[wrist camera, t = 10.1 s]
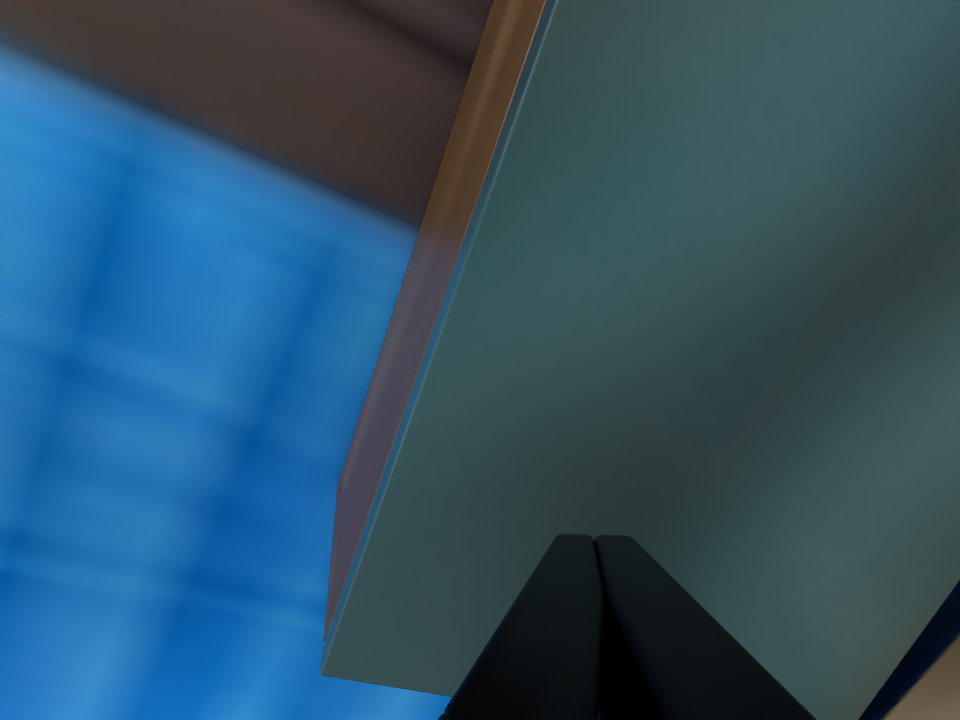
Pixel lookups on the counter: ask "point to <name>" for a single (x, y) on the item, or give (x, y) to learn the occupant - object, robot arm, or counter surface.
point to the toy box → (430, 271)
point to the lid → (695, 344)
